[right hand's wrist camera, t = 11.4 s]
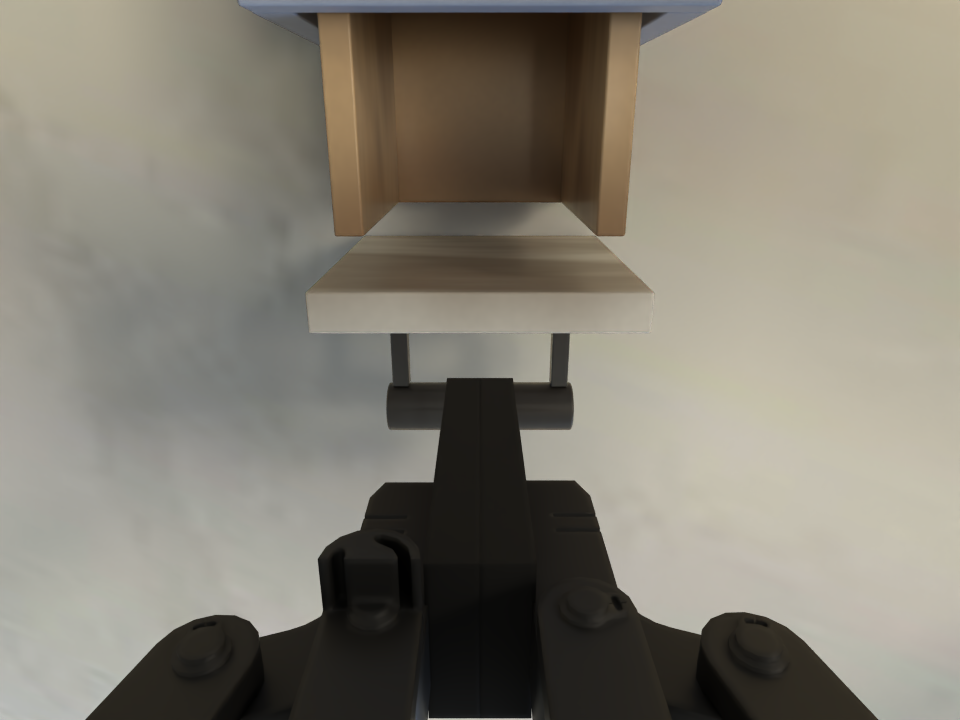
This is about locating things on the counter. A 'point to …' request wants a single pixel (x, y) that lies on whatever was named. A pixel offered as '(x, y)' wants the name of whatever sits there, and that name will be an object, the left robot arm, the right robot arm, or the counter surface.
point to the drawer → (479, 185)
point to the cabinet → (477, 10)
